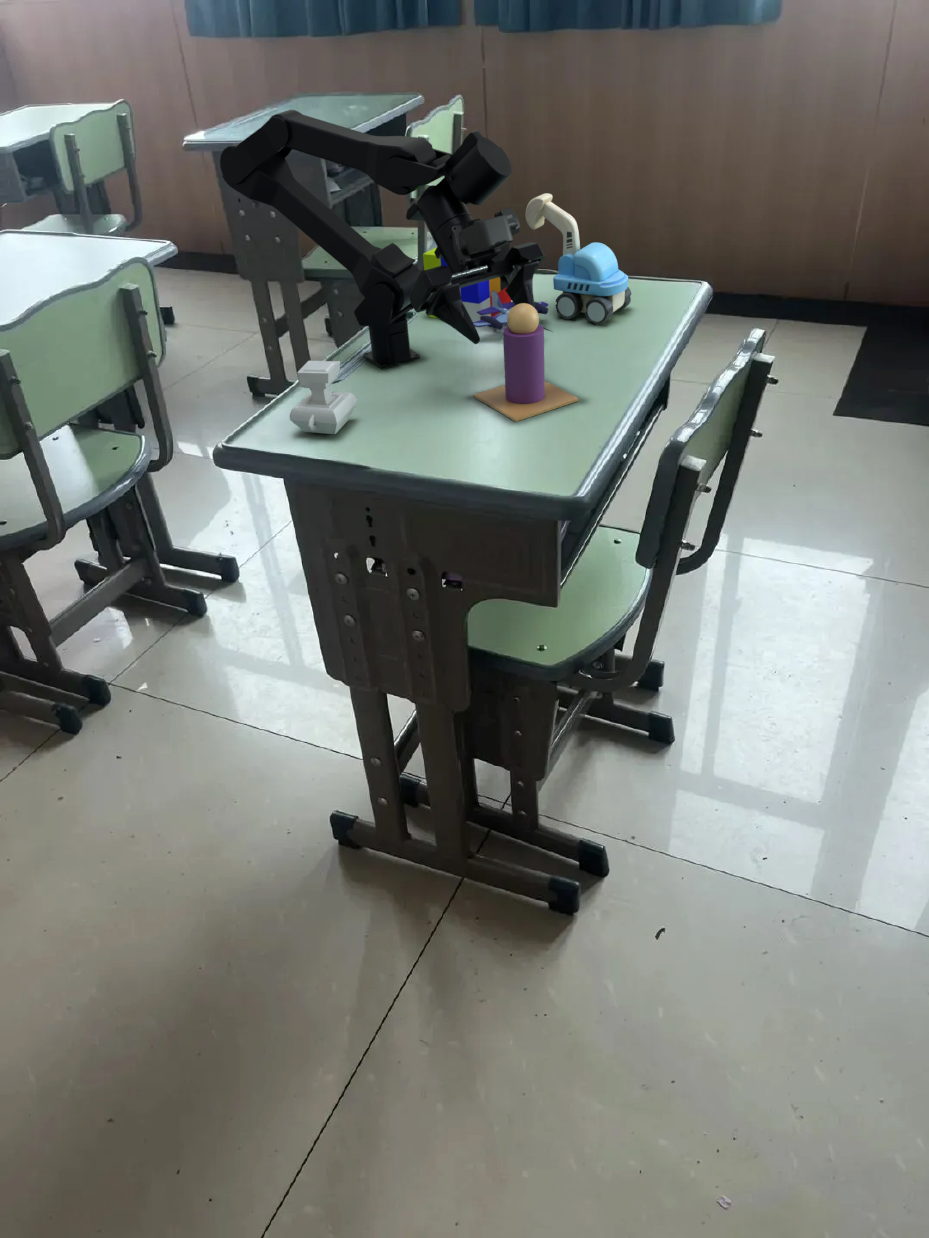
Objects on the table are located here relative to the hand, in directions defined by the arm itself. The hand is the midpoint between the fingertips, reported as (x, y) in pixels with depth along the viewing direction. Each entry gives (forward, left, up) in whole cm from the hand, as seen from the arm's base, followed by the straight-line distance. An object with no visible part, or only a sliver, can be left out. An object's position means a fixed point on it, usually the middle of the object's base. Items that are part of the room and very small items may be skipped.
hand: (506, 333), depth 119 cm
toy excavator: (-20, +26, -8) cm, 34 cm away
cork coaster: (+3, 0, -8) cm, 9 cm away
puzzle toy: (-32, +13, -8) cm, 35 cm away
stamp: (-6, -25, -8) cm, 27 cm away
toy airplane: (-18, +13, -8) cm, 24 cm away
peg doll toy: (+3, 0, -8) cm, 8 cm away
